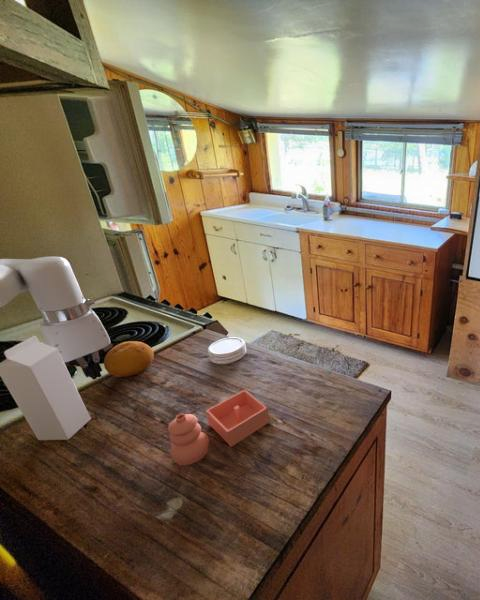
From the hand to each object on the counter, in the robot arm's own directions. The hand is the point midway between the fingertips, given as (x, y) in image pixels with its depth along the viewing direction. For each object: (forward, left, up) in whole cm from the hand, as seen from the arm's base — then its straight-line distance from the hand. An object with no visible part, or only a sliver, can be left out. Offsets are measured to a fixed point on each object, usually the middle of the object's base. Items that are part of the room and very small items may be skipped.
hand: (95, 376), depth 81 cm
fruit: (0, +8, -4) cm, 8 cm away
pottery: (+40, +6, -4) cm, 40 cm away
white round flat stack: (+15, +26, -4) cm, 30 cm away
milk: (+10, -10, -4) cm, 15 cm away
